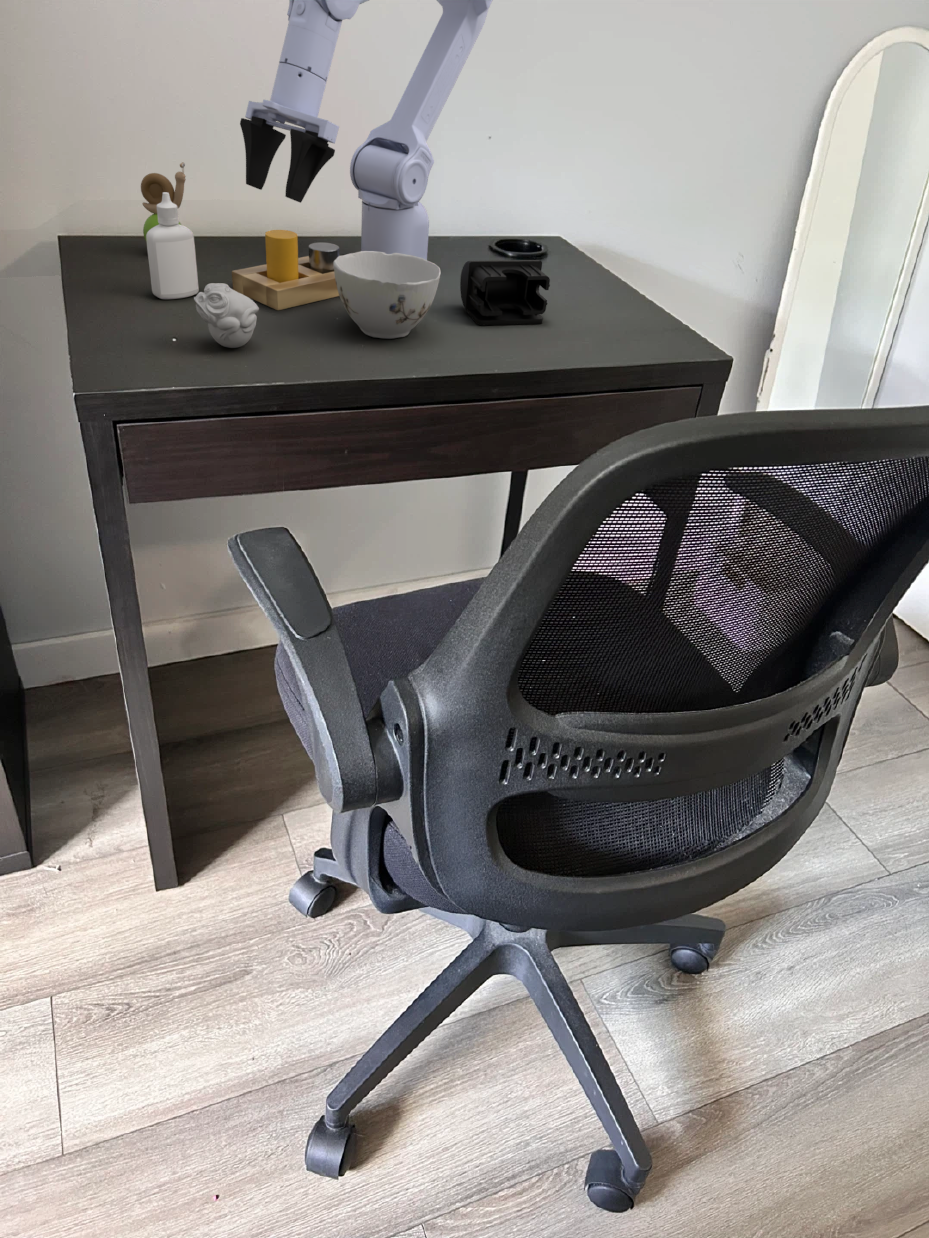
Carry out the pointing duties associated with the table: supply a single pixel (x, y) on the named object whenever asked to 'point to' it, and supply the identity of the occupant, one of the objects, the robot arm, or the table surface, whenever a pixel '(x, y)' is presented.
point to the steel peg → (322, 257)
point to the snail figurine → (160, 194)
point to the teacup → (386, 290)
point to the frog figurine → (227, 314)
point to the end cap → (504, 291)
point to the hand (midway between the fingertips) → (273, 193)
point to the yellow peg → (281, 255)
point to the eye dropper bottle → (171, 254)
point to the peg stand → (285, 286)
